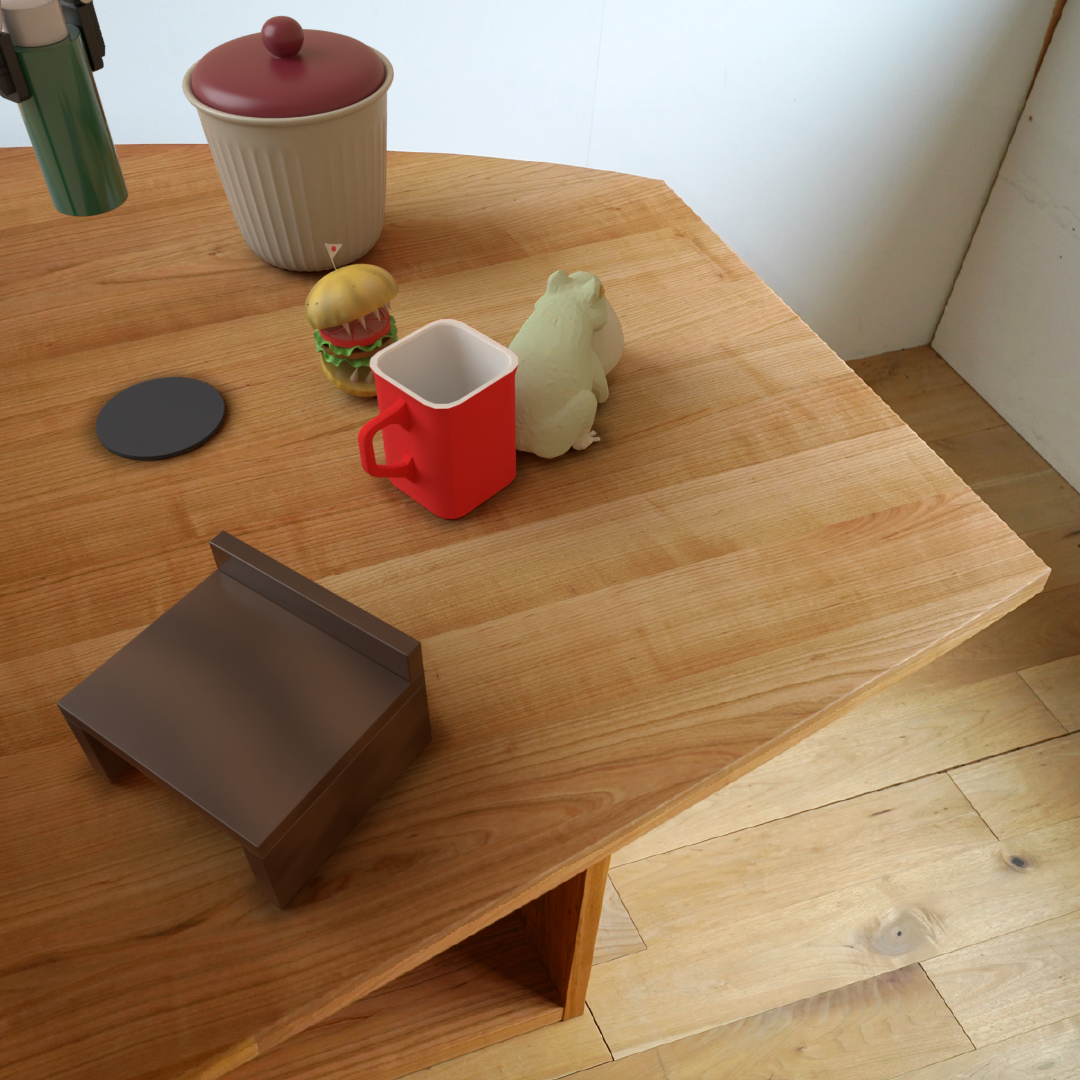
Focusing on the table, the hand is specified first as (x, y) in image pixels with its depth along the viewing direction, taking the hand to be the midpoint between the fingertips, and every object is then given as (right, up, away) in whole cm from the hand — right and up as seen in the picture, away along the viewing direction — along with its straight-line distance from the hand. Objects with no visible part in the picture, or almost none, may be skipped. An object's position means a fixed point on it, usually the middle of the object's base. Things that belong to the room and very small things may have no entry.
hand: (52, 81), depth 61 cm
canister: (+7, +2, +41) cm, 42 cm away
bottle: (0, -5, +5) cm, 7 cm away
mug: (+21, -23, +17) cm, 35 cm away
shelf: (+12, -40, +1) cm, 42 cm away
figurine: (+30, -16, +24) cm, 42 cm away
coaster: (-2, -17, +22) cm, 28 cm away
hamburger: (+14, -14, +26) cm, 33 cm away
